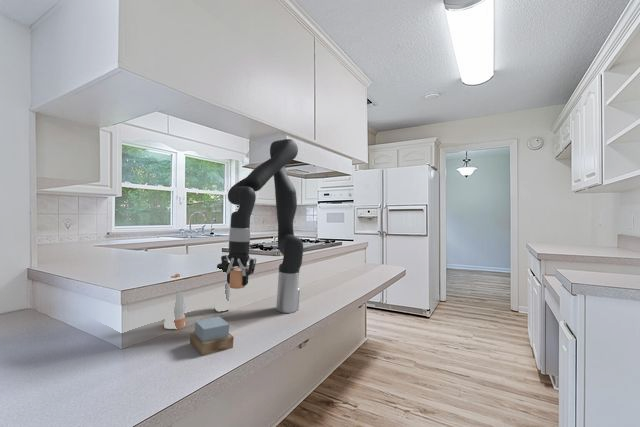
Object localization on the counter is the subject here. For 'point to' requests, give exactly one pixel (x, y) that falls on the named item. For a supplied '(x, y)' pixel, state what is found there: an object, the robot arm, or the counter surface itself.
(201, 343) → the walnut base block
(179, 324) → the salt shaker
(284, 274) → the robot arm
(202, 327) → the slate top block
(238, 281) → the terracotta drum
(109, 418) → the counter surface
